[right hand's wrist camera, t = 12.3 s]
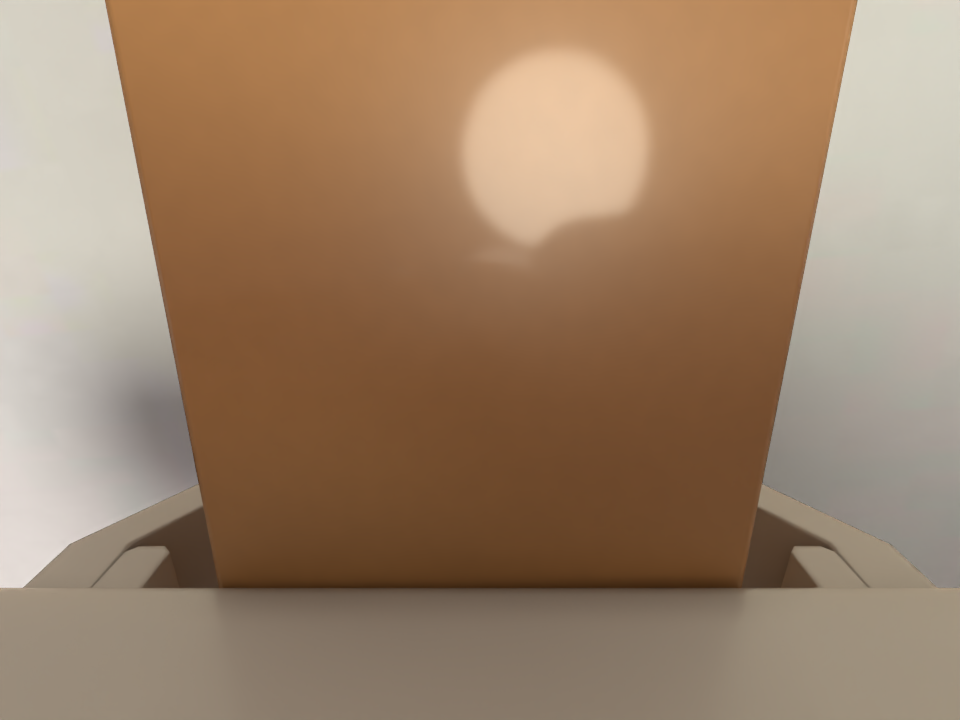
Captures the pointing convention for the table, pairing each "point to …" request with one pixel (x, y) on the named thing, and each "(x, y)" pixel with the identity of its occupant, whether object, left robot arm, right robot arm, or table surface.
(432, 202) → the bar
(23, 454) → the table surface
